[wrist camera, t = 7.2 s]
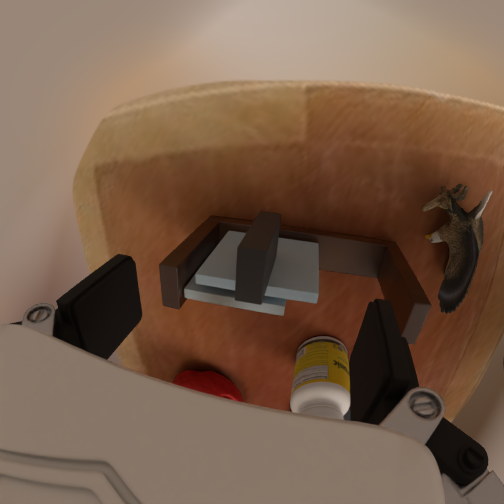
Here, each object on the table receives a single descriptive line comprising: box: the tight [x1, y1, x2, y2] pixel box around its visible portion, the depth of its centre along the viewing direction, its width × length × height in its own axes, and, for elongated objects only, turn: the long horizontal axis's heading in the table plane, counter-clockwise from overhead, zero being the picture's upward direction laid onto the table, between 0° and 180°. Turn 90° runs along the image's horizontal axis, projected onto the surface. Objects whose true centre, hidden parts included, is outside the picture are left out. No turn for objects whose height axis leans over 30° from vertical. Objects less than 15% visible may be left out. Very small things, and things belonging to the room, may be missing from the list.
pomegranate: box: [173, 370, 243, 402], centre depth 31 cm, size 10×10×9 cm
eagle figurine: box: [422, 184, 492, 314], centre depth 19 cm, size 8×7×9 cm
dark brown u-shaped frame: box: [159, 216, 431, 344], centre depth 21 cm, size 16×3×10 cm, turn 86°
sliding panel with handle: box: [195, 211, 319, 305], centre depth 19 cm, size 7×4×10 cm, turn 86°
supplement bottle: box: [290, 336, 350, 420], centre depth 25 cm, size 5×5×10 cm
